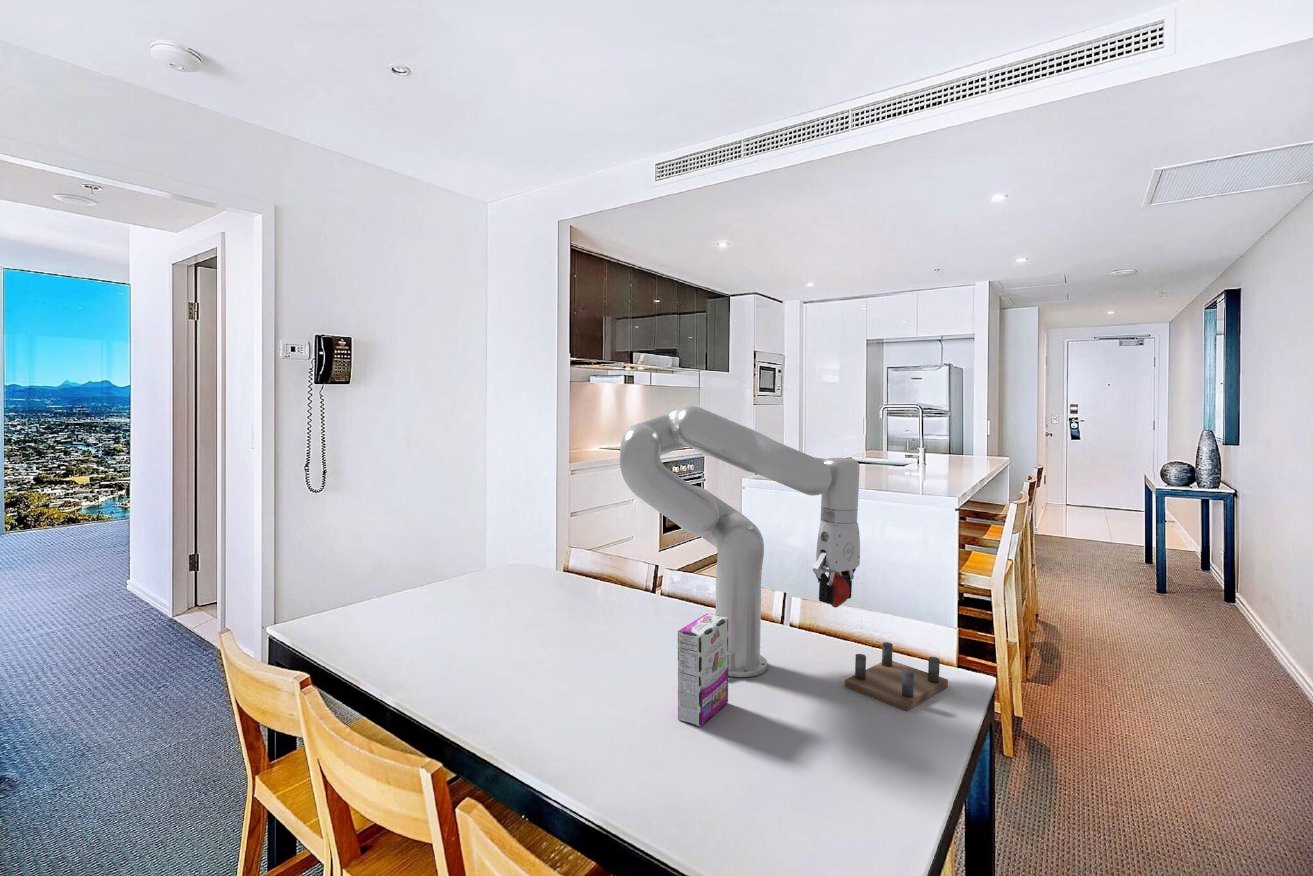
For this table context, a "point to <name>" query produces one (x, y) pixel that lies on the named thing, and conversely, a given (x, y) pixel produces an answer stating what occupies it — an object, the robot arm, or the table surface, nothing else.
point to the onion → (840, 590)
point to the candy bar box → (702, 669)
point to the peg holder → (896, 680)
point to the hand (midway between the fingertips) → (835, 598)
